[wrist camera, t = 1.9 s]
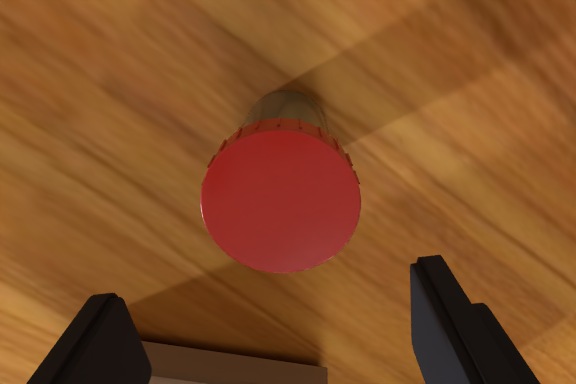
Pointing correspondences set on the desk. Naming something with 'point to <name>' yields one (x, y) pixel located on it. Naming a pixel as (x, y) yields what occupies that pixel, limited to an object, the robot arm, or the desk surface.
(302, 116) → the jam jar
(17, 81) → the desk surface
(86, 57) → the desk surface
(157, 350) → the photo frame
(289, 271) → the jam lid
